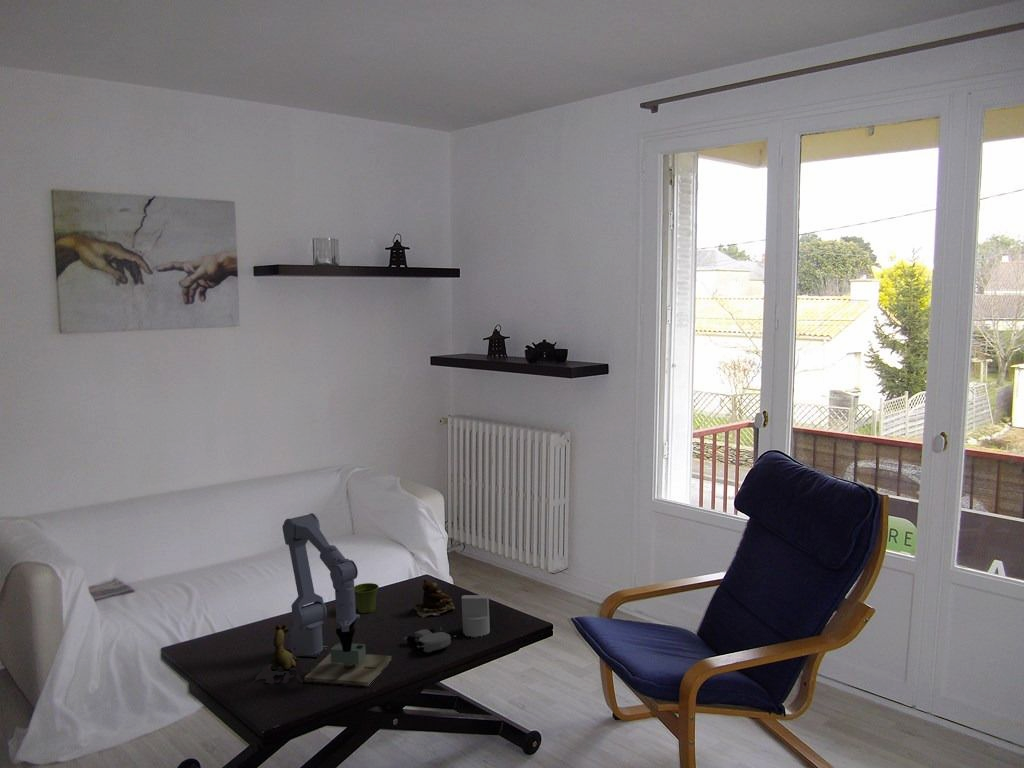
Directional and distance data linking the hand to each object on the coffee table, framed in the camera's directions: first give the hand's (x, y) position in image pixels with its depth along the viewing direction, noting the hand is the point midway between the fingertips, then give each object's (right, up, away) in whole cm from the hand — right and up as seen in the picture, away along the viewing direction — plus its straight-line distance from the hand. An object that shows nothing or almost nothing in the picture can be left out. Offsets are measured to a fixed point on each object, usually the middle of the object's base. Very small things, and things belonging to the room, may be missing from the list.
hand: (347, 646), depth 244 cm
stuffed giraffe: (-19, -9, +3) cm, 21 cm away
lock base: (0, -8, +1) cm, 8 cm away
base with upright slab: (+38, -4, +28) cm, 47 cm away
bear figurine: (+22, -3, +49) cm, 54 cm away
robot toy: (+23, -6, +17) cm, 29 cm away
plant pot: (-3, -4, +51) cm, 51 cm away
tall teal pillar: (0, -4, 0) cm, 4 cm away
